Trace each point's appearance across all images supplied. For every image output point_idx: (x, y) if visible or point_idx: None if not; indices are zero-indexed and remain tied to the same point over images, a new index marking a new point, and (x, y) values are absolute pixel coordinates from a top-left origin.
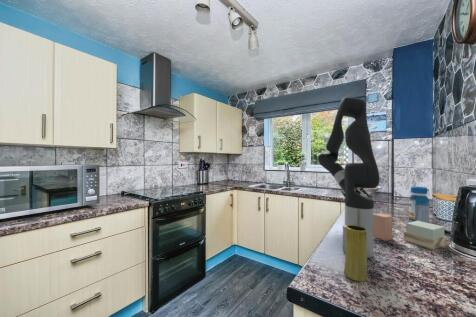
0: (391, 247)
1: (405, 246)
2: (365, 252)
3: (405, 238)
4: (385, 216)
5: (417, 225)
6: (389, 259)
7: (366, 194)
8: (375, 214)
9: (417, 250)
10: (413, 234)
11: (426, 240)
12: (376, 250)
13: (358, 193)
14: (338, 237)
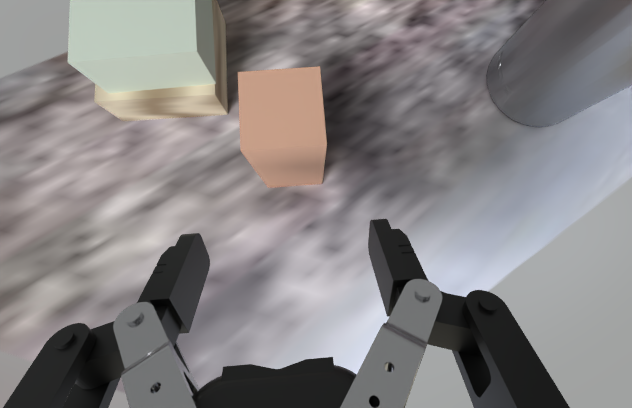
0: (362, 79)
1: None
2: None
3: (225, 102)
4: (296, 80)
5: (185, 6)
6: (466, 19)
7: (72, 376)
8: (313, 139)
9: (293, 34)
10: (214, 55)
11: (216, 19)
12: (446, 78)
13: (250, 395)
14: (499, 225)
